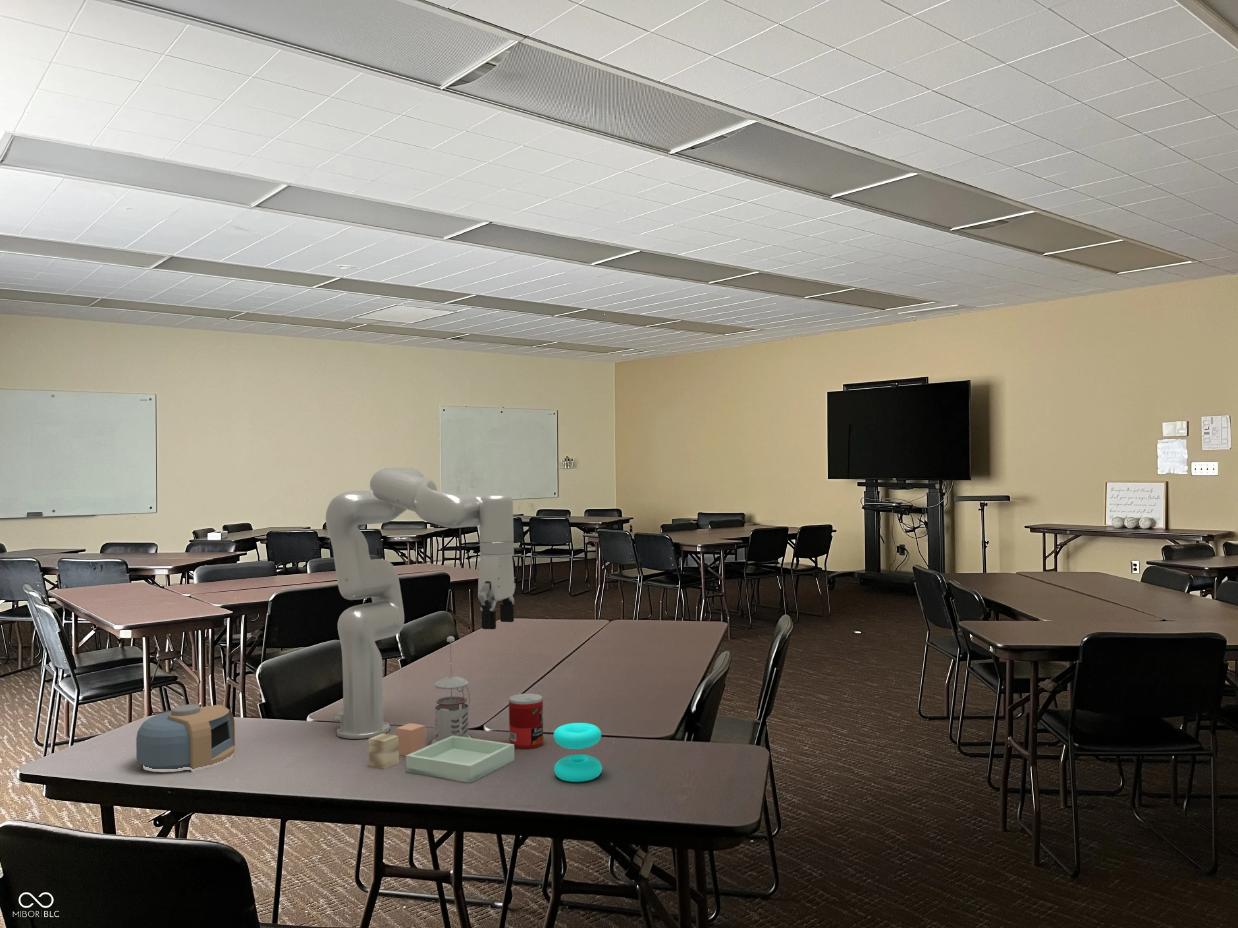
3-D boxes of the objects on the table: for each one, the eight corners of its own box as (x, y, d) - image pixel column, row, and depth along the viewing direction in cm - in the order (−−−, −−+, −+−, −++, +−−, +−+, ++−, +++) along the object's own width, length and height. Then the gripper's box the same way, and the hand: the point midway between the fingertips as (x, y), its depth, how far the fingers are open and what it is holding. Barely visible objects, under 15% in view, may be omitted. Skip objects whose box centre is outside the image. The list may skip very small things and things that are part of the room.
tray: (406, 771, 189) (406, 755, 189) (452, 750, 203) (452, 735, 203) (470, 782, 181) (470, 765, 181) (514, 760, 195) (514, 744, 195)
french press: (423, 744, 208) (421, 638, 208) (450, 731, 219) (448, 630, 219) (458, 748, 204) (456, 640, 205) (484, 734, 215) (482, 632, 216)
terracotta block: (397, 754, 201) (396, 727, 201) (410, 748, 205) (409, 722, 205) (412, 756, 199) (412, 730, 199) (425, 751, 203) (425, 725, 203)
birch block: (369, 766, 193) (368, 738, 193) (383, 760, 197) (382, 733, 197) (384, 768, 191) (384, 741, 191) (398, 762, 195) (398, 735, 195)
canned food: (538, 749, 202) (537, 701, 203) (505, 748, 204) (504, 700, 204) (547, 740, 210) (546, 693, 210) (515, 738, 212) (514, 692, 212)
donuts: (571, 718, 192) (610, 724, 186) (572, 764, 191) (611, 772, 186) (543, 730, 183) (583, 737, 178) (544, 778, 183) (584, 786, 178)
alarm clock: (207, 774, 190) (206, 718, 190) (117, 774, 191) (117, 718, 191) (249, 747, 209) (248, 696, 209) (167, 747, 210) (166, 696, 210)
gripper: (497, 546, 208) (499, 618, 208) (464, 552, 192) (465, 631, 192) (527, 546, 206) (528, 619, 206) (496, 552, 190) (497, 632, 189)
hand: (498, 625), depth 199 cm, fingers open, 9 cm apart
